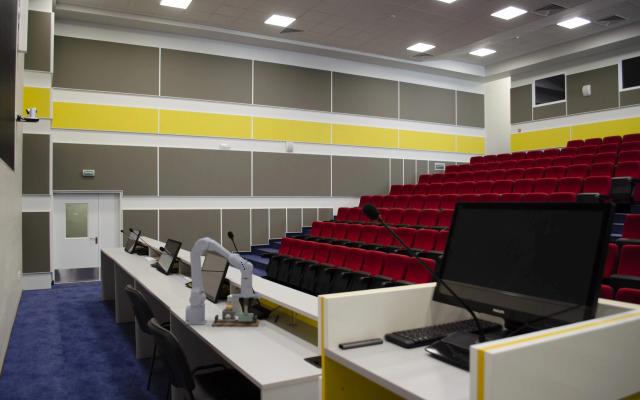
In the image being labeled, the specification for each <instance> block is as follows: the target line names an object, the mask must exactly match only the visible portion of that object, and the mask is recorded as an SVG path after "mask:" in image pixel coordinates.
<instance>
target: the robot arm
mask: <svg viewBox="0 0 640 400" xmlns="http://www.w3.org/2000/svg"><path fill="white" fill-rule="evenodd" d="M206 251H215V252H216V253H218V254H219V255H221V256H223V257H224V258H226V259H227V261H228V263H229V264H230V265H232V266H233V267H235V268H236V269H237V270H239V271H240V273H241V276H240V293H232V294H231V295H232V298H239V302H240V305H241V308H242V313H244V306H245V299H247V301H248V303H247V306H248V313H250V312H251V307H252V303H253V301H254V299H258V300H259V299H260V300H261V297H262V296H261V293H253V269H254V265H253V264H252V263H251V262H250V261H248V259H244V258H243V257H241V255H240V254H239V253H231V252H230V251H229V250H228V249H226V248H225V247H224V246H222V245H221V244H220V243H219V242H217V241H216V240H215V239H212V238H211V237H208V236H206V237H202V238H199V239H198V240H196V241H195V242H194V245H193V247H192V248H191V251H190V253H189V254H190V256H189V257H190V259H189V260H190V275H191V286H192V287H191V290H190V297H189V301H188V302H189V304H190V305H186V308H185V318H184V319H185V323H184V325H205V323H206V322H207V319H206V317H205V316H206V303H205V301H206V300H207V294H206V293H205V288H204V286H203V275H202V273H203V272H202V260H201V259H202V255H203V254H204V253H205V252H206ZM241 262H242V263H241ZM242 264H243V265H242ZM243 266H244V267H243ZM244 268H245V270H244Z"/></svg>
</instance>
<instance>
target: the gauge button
mask: <svg viewBox="0 0 640 400" xmlns="http://www.w3.org/2000/svg"><path fill="white" fill-rule="evenodd" d="M225 309H226V310H232V305H227V304H226V305H225Z"/></svg>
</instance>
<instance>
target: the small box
mask: <svg viewBox="0 0 640 400" xmlns="http://www.w3.org/2000/svg"><path fill="white" fill-rule="evenodd" d="M226 297H227V298H226V299H227V301H226V302H227V303H226V305H232V309H235V317H236V316H239V314H240V313H242V308H241V305H240V302H239V298H232V294H229V295H227V296H226Z"/></svg>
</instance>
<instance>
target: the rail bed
mask: <svg viewBox="0 0 640 400" xmlns="http://www.w3.org/2000/svg"><path fill="white" fill-rule="evenodd" d="M259 324H260V319H258V315H257V314H255V315H254V316H253V320H252V321H238V318H237V319H236V318H235V319H219V314H216V315H215V316H214V320H213V322H212V324H211V327H216V328H217V327H224V328H227V327H230V328H232V327H235V328H237V327H240V328H241V327H243V328H244V327H247V328H248V327H250V328H251V327H255V328H257V327H259Z"/></svg>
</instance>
